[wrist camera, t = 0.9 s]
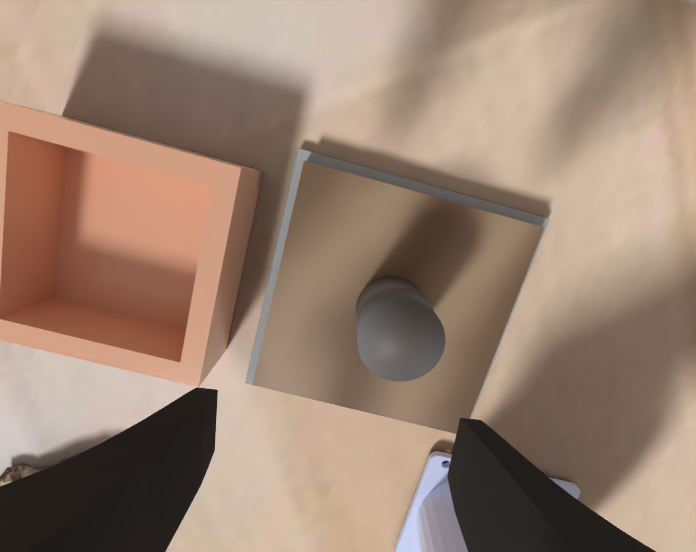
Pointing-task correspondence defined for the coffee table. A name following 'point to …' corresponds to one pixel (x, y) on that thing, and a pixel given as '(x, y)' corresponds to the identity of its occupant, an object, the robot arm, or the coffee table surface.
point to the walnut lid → (390, 298)
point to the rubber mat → (380, 177)
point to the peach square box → (119, 245)
